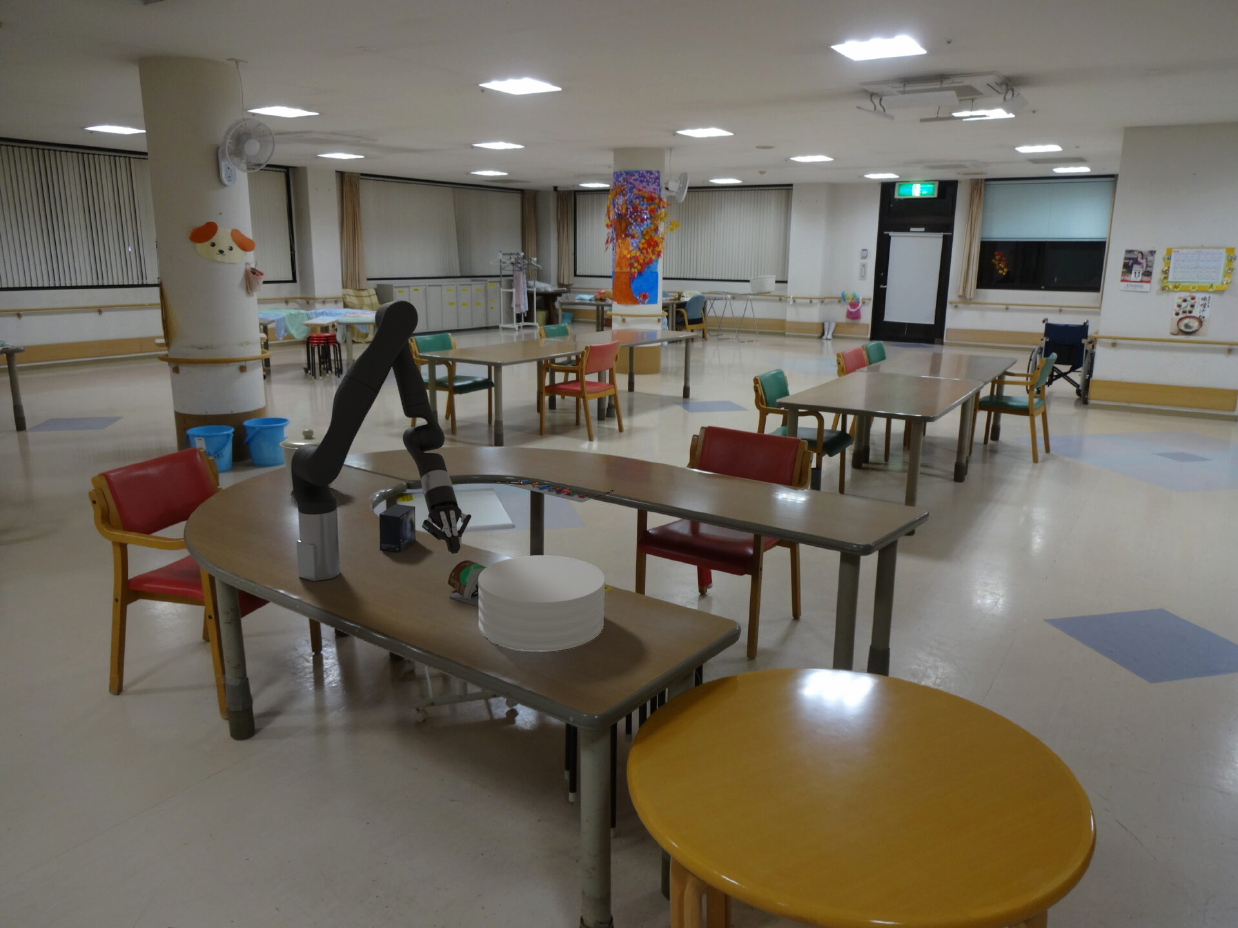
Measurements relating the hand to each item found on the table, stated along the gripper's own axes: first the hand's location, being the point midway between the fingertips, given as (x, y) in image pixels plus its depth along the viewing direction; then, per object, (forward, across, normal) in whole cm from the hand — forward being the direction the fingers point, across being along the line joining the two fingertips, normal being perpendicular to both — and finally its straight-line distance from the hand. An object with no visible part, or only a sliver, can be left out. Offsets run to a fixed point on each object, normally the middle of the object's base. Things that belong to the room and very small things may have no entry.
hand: (455, 552), depth 212 cm
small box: (-18, -5, +30) cm, 36 cm away
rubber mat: (+11, +6, +1) cm, 13 cm away
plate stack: (+28, +10, -15) cm, 33 cm away
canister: (-65, -16, +77) cm, 102 cm away
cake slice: (+3, +2, +2) cm, 4 cm away
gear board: (-46, +60, +60) cm, 97 cm away
